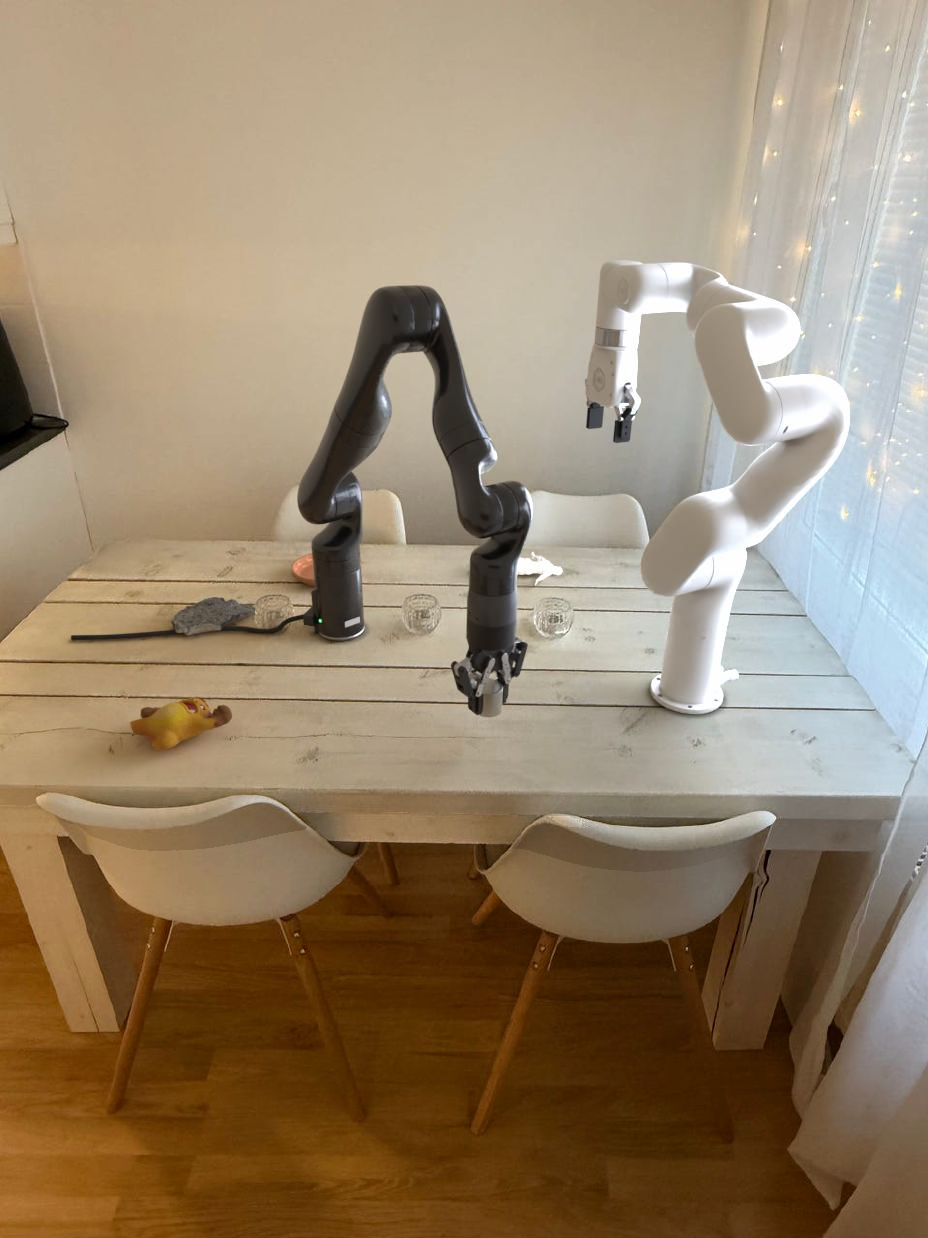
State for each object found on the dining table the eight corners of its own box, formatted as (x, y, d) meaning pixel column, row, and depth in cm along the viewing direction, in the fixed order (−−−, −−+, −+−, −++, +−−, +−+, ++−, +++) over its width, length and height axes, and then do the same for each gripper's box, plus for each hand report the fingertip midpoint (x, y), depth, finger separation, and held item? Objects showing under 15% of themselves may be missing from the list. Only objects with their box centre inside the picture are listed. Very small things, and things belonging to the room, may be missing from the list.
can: (503, 716, 129) (505, 693, 126) (475, 718, 128) (476, 695, 126) (499, 700, 133) (501, 677, 130) (472, 701, 132) (473, 679, 130)
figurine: (483, 589, 181) (563, 599, 182) (486, 568, 179) (567, 578, 180) (482, 559, 197) (556, 568, 198) (485, 539, 194) (560, 548, 195)
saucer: (304, 559, 195) (303, 548, 194) (369, 564, 193) (368, 552, 192) (281, 589, 181) (280, 576, 180) (351, 594, 179) (351, 581, 178)
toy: (124, 709, 134) (215, 682, 140) (135, 746, 135) (224, 717, 142) (132, 722, 124) (229, 692, 131) (144, 761, 125) (239, 730, 132)
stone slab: (156, 626, 166) (154, 613, 164) (223, 596, 177) (221, 584, 176) (194, 646, 159) (192, 633, 158) (261, 614, 171) (259, 601, 169)
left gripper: (470, 637, 115) (467, 734, 124) (544, 608, 123) (537, 702, 131) (438, 616, 121) (438, 711, 129) (511, 590, 128) (506, 681, 137)
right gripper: (573, 331, 148) (567, 424, 156) (624, 347, 134) (614, 449, 142) (609, 328, 150) (601, 421, 158) (663, 345, 136) (650, 445, 144)
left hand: (488, 706), depth 130 cm, fingers closed on can, 4 cm apart
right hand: (607, 434), depth 150 cm, fingers open, 9 cm apart
